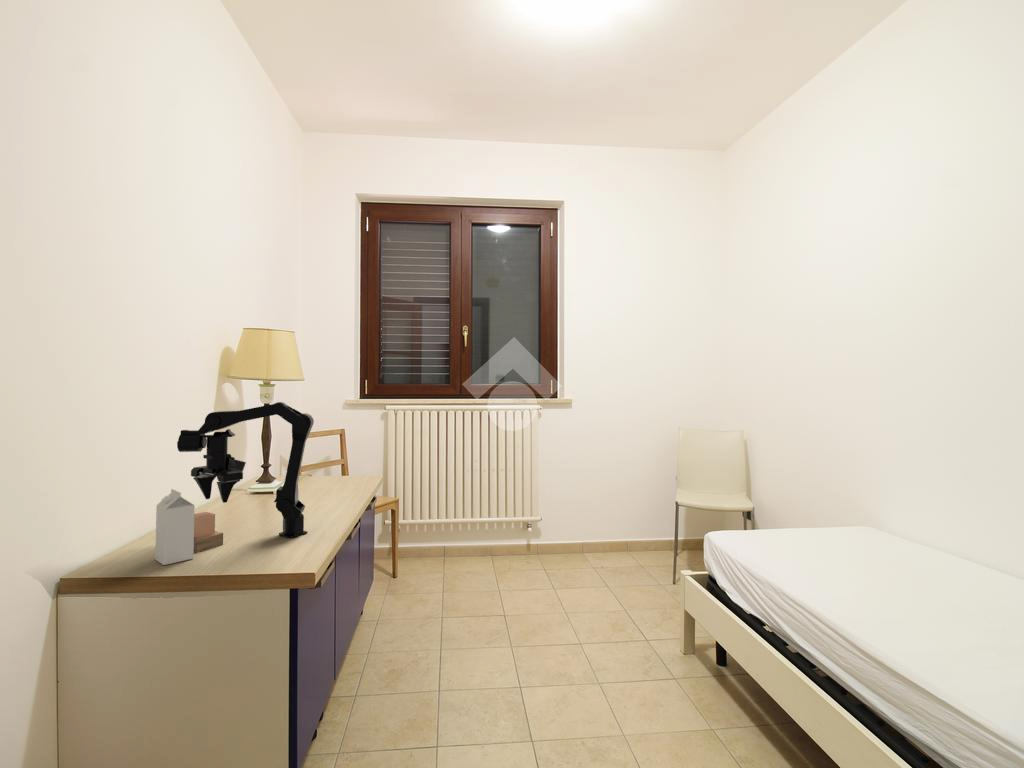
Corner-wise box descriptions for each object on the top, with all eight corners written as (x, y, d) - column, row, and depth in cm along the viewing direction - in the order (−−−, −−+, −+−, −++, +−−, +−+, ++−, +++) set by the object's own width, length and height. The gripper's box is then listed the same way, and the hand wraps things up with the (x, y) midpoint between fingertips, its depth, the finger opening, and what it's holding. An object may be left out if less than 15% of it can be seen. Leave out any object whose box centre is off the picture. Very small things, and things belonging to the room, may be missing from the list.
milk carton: (184, 553, 143) (185, 487, 143) (193, 559, 139) (195, 490, 139) (154, 559, 138) (156, 490, 138) (163, 566, 133) (165, 494, 133)
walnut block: (222, 545, 151) (223, 532, 151) (197, 553, 144) (197, 539, 144) (205, 542, 155) (205, 529, 155) (179, 549, 147) (179, 536, 147)
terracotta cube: (214, 534, 150) (215, 514, 150) (196, 538, 146) (197, 517, 146) (205, 531, 153) (206, 511, 153) (188, 535, 148) (188, 515, 148)
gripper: (259, 450, 160) (258, 499, 160) (224, 446, 169) (224, 492, 169) (224, 454, 150) (224, 506, 150) (190, 450, 160) (189, 499, 159)
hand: (216, 500), depth 158 cm, fingers open, 9 cm apart
